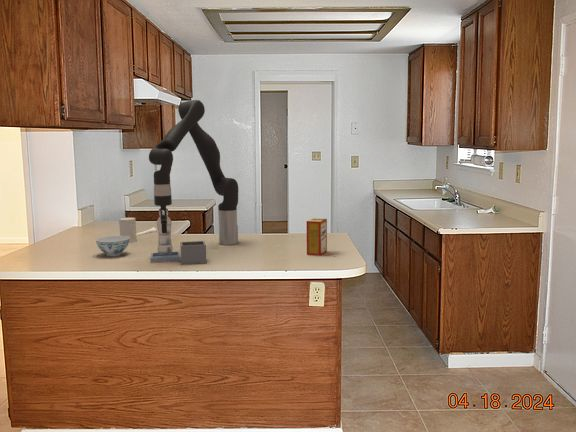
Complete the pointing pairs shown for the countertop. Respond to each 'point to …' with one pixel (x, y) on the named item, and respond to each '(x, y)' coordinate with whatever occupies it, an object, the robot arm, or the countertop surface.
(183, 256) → the holder
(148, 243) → the countertop surface
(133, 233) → the cup
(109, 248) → the chinaware
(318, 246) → the baking soda box
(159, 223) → the plastic bottle
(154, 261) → the tray
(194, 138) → the robot arm
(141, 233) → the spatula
